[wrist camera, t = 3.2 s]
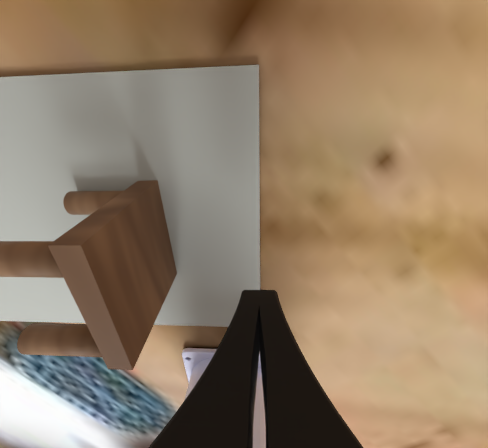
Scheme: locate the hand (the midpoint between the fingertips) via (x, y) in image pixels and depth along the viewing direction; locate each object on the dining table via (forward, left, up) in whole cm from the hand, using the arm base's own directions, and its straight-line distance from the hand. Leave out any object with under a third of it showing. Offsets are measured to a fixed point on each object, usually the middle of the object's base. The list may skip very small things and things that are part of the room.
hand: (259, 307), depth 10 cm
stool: (0, +9, -6) cm, 11 cm away
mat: (0, +12, -7) cm, 14 cm away
